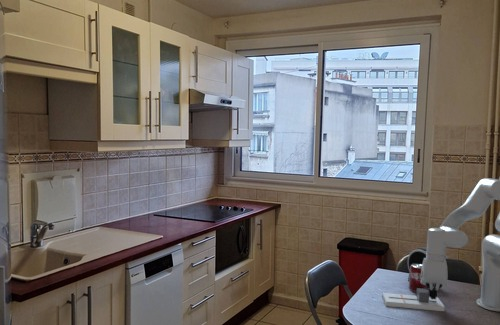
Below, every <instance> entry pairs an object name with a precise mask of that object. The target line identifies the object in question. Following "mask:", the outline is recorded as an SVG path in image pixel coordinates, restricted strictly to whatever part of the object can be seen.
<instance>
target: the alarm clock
mask: <svg viewBox="0 0 500 325" xmlns="http://www.w3.org/2000/svg"><path fill="white" fill-rule="evenodd" d="M426 250H427V246H422V247H421V246H420V247H417V249H414V250H412V251H410V253H409V254H408V257H407V261H406V262H407V268H408V271H409V272H410V266H411V264H421V265H422V264H423V260H424V258H426ZM409 280H410V273H409V274H408V278H407V281H408V282H409ZM432 285H433V288H434V285H435V283H432ZM425 289H427V290H429V288H428V287H427V285H426V287H425Z"/></svg>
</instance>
